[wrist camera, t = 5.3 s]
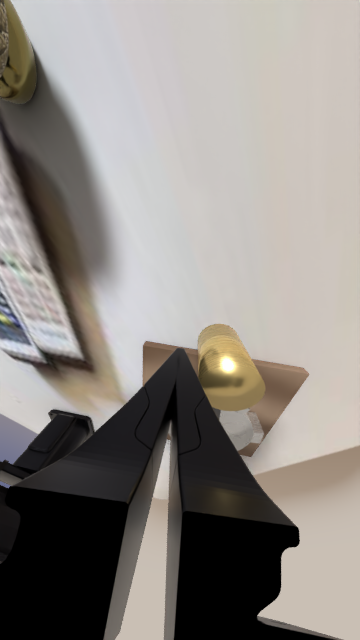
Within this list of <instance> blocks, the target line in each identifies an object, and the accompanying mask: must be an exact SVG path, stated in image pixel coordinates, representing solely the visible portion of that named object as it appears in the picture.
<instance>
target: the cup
mask: <svg viewBox="0 0 360 640" xmlns="http://www.w3.org/2000/svg"><path fill="white" fill-rule="evenodd" d="M36 81H37V70H36V62H35V57H34V53H33V49H32V46H31V43H30V40H29V38H28V35H27V33H26V30H25V28H24V26H23V24H22V22H21V20H20V18H19V16H18V14H17V12H16V10H15V8H14V6H13V4H12V2H11V1H10V0H0V98H2V99H4V100H6V101H9V102H11V103H15V104H24V103H26V102H28V101H29V100H30V99H31V97H32V96H33V94H34V91H35V88H36Z"/></svg>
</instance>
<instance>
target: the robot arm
mask: <svg viewBox="0 0 360 640" xmlns="http://www.w3.org/2000/svg"><path fill="white" fill-rule="evenodd" d="M48 414H49V416H50V418H51V422H50V423H49V424H48V425H47V426H46V427H45V428H44V429H43V430H42V431H41V432H40V434H39V435H38V436H37V437H36V438H35V439H34V440H33V441H32V442H31V443H30V444H29V446H28V448H27V449H26V450H25V452H23V454H22V455H21V456H20V457H19V458H18V459H17V460H16V461H15V462H14V464H13V465H12V464H10V463H8V462H9V461H7V460H4V461H3V462H0V481H2V482H4V483H6V484H9V485H11V486H10V487H9V489H8V488H6V487H4V486H1V485H0V640H115V638H116V637H117V635H118V634H119V632H120V629H121V625H122V621H123V616H124V612H125V608H126V604H127V600H128V596H129V592H130V587H131V584H132V579H133V575H134V571H135V567H136V563H137V559H138V555H139V550H140V546H141V542H142V538H143V534H144V530H145V526H146V522H147V518H148V514H149V510H150V505H151V501H152V497H153V493H154V489H155V485H156V481H157V477H158V472H159V468H160V464H161V460H162V456H163V452H164V448H165V444H166V440H167V436H168V431H169V427H170V423H171V442H170V473H169V503H168V534H167V565H166V595H165V625H164V640H342V639H339V638H335V637H332V636H328V635H325V634H321V633H318V632H314V631H311V630H308V629H304V628H301V627H297V626H294V625H290V624H287V623H284V622H280V621H276V620H272V619H268V618H263V617H259V616H257V615H258V614H259V613H260V611H261V610H263V609H264V608H265V607H267V606H268V605H269V604H270V603H272V602H273V601H274V600H275V599H276V598H277V597H278V595H279V593H280V590H281V556H282V553H283V552H284V550H285V549H287V548H289V547H297V546H298V545H299V541H300V540H299V529H298V527H297V526H296V525H295V524H294V523H293V522H292V521H291V520H290V519H289V518H288V517H287V516H286V515H285V514H284V513H283V512H282V511H281V510H280V508H279V507H278V506H277V505H276V504H275V503H274V502H273V501H272V500H271V499H270V498H269V497H268V495H267V494H266V493H265V492H264V491H263V489H262V488H261V487H260V485H259V484H258V483H257V481H256V480H255V478H254V477H253V475H252V474H251V472H250V471H249V469H248V467H247V466H246V464H245V462H244V461H243V459H242V458H241V456H240V454H239V453H238V451H237V449H236V448H235V446H234V444H233V443H232V441H231V439H230V438H229V436H228V434H227V433H226V431H225V429H224V428H223V426H222V424H221V422H220V421H219V419H218V417H217V416H216V414H215V412H214V410H213V408H212V406H211V404H210V402H209V400H208V397H207V396H206V393H205V391H204V389H203V387H202V385H201V383H200V381H199V378H198V376H197V374H196V372H195V370H194V368H193V366H192V364H191V362H190V359H189V357H188V355H187V353H186V351H185V349H184V348H177V349H176V350H175V351H174V352H173V353H172V354H171V355H170V356H169V357H168V359H167V360H166V361H165V362H164V363H163V364H162V365H161V366H160V367H159V369H158V370H157V371H156V372H155V373H154V374H153V375H152V376H151V378H150V379H149V380H148V381H147V382H146V383H145V384H144V386H142V387H141V389H140V390H139V391H138V392H137V393H136V394H135V395H134V396H133V397H132V398H131V399H130V400H129V401H128V402H127V403H126V404H125V405H124V406H123V407H122V408H121V409H120V410H119V411H118V412H117V413H116V414H114V415H113V416H112V417H111V418H110V419H109V420H108V421H107V422H106V423H105V424H103V425H102V426H101V427H100V428H99V429H98V430H97V431H96V432H95V433H93V430H92V427H91V423H90V419H89V418H88V417H85V416H80V415H75V414H71V413H66V412H61V411H56V410H51V411H50V412H49V413H48ZM84 441H85V442H84Z"/></svg>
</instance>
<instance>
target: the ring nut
mask: <svg viewBox="0 0 360 640" xmlns="http://www.w3.org/2000/svg"><path fill="white" fill-rule="evenodd" d="M198 378H199V381H200V383H201V385H202V387H203V389H204V391H205V393H206V396H207V397H208V400H209V402H210V404H211V406H212V408H213V410H214V412H215V414H216V416H217V417H218V419H219V421H220V422H221V424H222V426H223V428H224V429H225V431H226V433H227V434H228V436H229V438H230V439H231V441H232V443H233V444H234V446H235V448H236V449H237V451H239V450H241V449H243V448H244V447H246V446H247V445H248V444H249V443H250V442H252V443H259V444H260V442H261V440H262V438H263V435H264V432H263V429H262V427H261V424H260V422H259V419H258V417H257V414H256V413H253V412H248V411H249V410H250V407H252V406H254V405H255V404H257V403H258V402H259V401H260V400H261V399H262V397H263V396H264V393H265V383H264V381H263V379H262V377H261V375H260V374H259V372H258V370H257V368H256V367H255V365H254V363H253V361H252V360H251V358H250V356H249V354H248V352H247V351H246V349H245V347H244V345H243V344H242V342H241V340H240V338H239V337H238V335H237V333H236V332H235V330H234V329H233V328H231V327H229V326H227V325H224V324H214V325H210V326H208V327H206V328H205V329H204V330H203V331H202V332H201V333H200V335H199V337H198ZM168 434H169V435H170V437H171V423H170V427H169V431H168Z"/></svg>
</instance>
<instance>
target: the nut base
mask: <svg viewBox="0 0 360 640" xmlns="http://www.w3.org/2000/svg"><path fill="white" fill-rule="evenodd" d="M177 348H183V347H177V346H172V345H166V344H160V343H154V342H148V341H146V342H145V343H144V345H143V386H144V384H145V383H146V382H147V381H148V380H149V379H150V378H151V376H152V375H153V374H154V373H155V372H156V371H157V370H158V369H159V367H160V366H161V365H162V364H163V363H164V362H165V361H166V360H167V359H168V357H169V356H170V355H171V354H172V353H173V352H174V351H175V350H176V349H177ZM184 349H185V351H186V353H187V355H188V357H189V359H190V362H191V364H192V366H193V368H194V370H195V372H196V374H197V376H198V350H195V349H189V348H184ZM251 360H252V361H253V363H254V365H255V367H256V368H257V370H258V372H259V374H260V375H261V377H262V379H263V381H264V383H265V393H264V396H263V397H262V399H261V400H260V401H259V402H258V403H257V404H255V405H254V406H252V407H250V410H249V411H248V412H253V413H256V414H257V417H258V419H259V422H260V424H261V427H262V429H263V432H264V435H263V438H262V440H261V442H262V441H263V439H264V438H265V436H266V435H267V434H268V432H269V431H270V429H271V428H272V427H273V425H274V424H275V422H276V421H277V419H278V418H279V417H280V415H281V414H282V412H283V411H284V410H285V408H286V407H287V405H288V404H289V402H290V401H291V400H292V398H293V397H294V395H295V394H296V393H297V391H298V390H299V388H300V387H301V385H302V384H303V383H304V381H305V380H306V378H307V377H308V376H309V373H308V372H307V371H306V370H305V369H304V368H301V367H295V366H289V365H283V364H277V363H271V362H265V361H259V360H254V359H251ZM167 439H168V440H171V437H170V435H169V434H168V436H167ZM261 442H260V444H261ZM260 444H259V443H252V442H250V443H249V444H248V445H247V446H246V447H244V448H243V449H241V450H239V451H238V453H239V454H240V455H244V456H249V457H251V456H252V455H253V453H254V452H255V451H256V449H257V448H258V446H259V445H260Z"/></svg>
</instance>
